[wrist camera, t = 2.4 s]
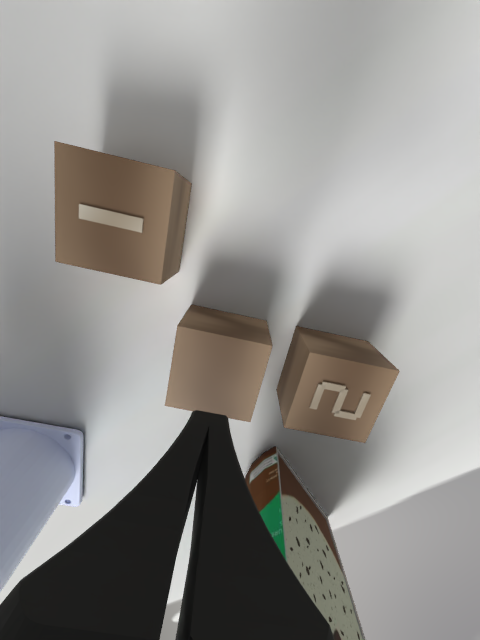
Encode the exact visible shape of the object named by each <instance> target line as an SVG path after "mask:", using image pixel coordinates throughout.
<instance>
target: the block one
mask: <svg viewBox="0 0 480 640" xmlns="http://www.w3.org/2000/svg"><path fill="white" fill-rule="evenodd" d="M54 148H55V262H59V263H64V264H69V265H73V266H78V267H82V268H87V269H92V270H96V271H101V272H105V273H110V274H115V275H119V276H124V277H128V278H133V279H137V280H142V281H147V282H151V283H156V284H160V285H161V284H162V283H164V282H165V281H166V280H168V279H169V278H171V277H172V276H173V275H175V274H176V273H178V272H179V268H180V261H181V254H182V247H183V241H184V234H185V227H186V220H187V213H188V206H189V199H190V192H191V185H192V184H191V183H190V182H189V181H188V180H186V179H185V178H184V177H183V176H181V175H180V174H179V173H178V172H176V171H175V170H171V169H167V168H163V167H159V166H155V165H150V164H146V163H142V162H138V161H134V160H130V159H126V158H122V157H118V156H114V155H109V154H105V153H101V152H97V151H93V150H89V149H85V148H81V147H77V146H73V145H69V144H64V143H60V142H56V141H54Z"/></svg>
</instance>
